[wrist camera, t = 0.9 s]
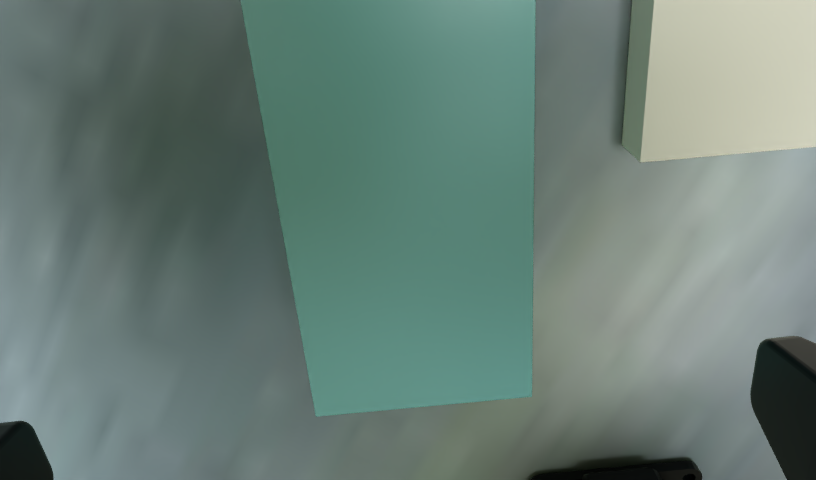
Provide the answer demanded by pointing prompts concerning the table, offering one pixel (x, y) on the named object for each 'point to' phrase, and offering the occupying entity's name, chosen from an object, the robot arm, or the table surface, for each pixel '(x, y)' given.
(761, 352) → the robot arm
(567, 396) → the table surface
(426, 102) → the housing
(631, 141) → the base plate
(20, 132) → the table surface
